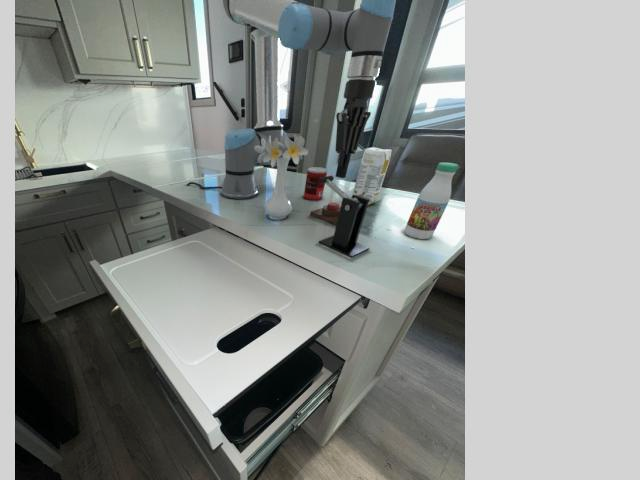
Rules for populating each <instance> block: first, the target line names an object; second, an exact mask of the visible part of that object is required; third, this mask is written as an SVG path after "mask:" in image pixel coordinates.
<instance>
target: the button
mask: <svg viewBox="0 0 640 480" xmlns="http://www.w3.org/2000/svg"><path fill="white" fill-rule="evenodd" d="M327 205H328V207H327V209H329V210H338V208H339V207H340V204H339V203H338V202H333V201H332V202H328V203H327Z"/></svg>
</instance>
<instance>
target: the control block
mask: <svg viewBox="0 0 640 480" xmlns="http://www.w3.org/2000/svg"><path fill="white" fill-rule="evenodd" d="M327 207H328V204H326V205H323V206H322V207H321V208H317V209H314V210H311V211H310V212H309V217H312V218H315V219H316V220H320V221H322V222H325V223H328V224H330V225H333V226H335V227H336V225H337V220H338V216H339V212H340V208H341V206H339V208H338V210H329V209H327Z"/></svg>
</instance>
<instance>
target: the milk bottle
mask: <svg viewBox="0 0 640 480" xmlns="http://www.w3.org/2000/svg"><path fill="white" fill-rule="evenodd" d="M458 169H459V164H457V163H453V162H439V163H438V164H437V167H436V170H435V171H434V172H435V173H434V176H433V177H432V178H431V180H430V181H429V182H428V183H427V184H425V185H424V187H423V188H422V190H421V191H420V193H419V195H418V197H417V199H416V201H415V204H414V206H413V208H412V210H411V213H410V214H409V218H408V220H407V222H406V225H405V228H404V231H403V232H404V234H405V235H407V236H409V237H410V238H414V239H418V240H419V239H420V240H428V239H431V238H432V237H433V235H434V234H435V231H436V230H437V227H438V225H439V224H440V221H441V219H442V217H443V215H444V213H445V210H446V208H447V206H448V204H449V202H450V200H451V195H452V181H453V177H454V175H455V174H456V172H457V171H458Z"/></svg>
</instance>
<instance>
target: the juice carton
mask: <svg viewBox="0 0 640 480" xmlns="http://www.w3.org/2000/svg"><path fill="white" fill-rule="evenodd" d="M392 152H393V151H392V149H385V148H379V147H375V146H374V147H373V146H372V147H368V148H365V149H364V151H363V154H362V157H361V161H360V165H359V168H358V172H357V175H356V176H357V177H356V180H355V183H354V187H353V190H352V195H358V196H361V197H365V198H369V199H370V200H369V203H368V206H371V205H373V204H375V203H376V202H377V200H378V197H379V196H380V192H381V191H382V190H381V189H382V186H383V183H384V180H385V177H386V174H387V171H388V167H389V165H390V162H391V158H392V157H391V156H392Z"/></svg>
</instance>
